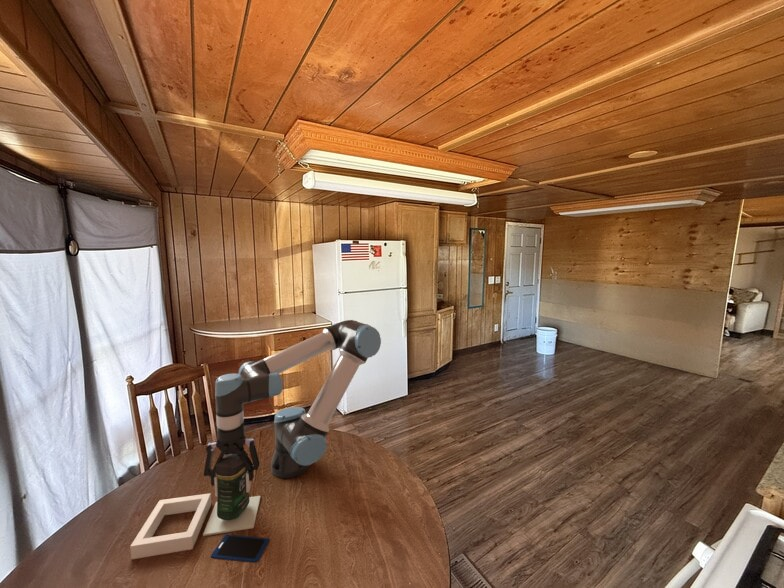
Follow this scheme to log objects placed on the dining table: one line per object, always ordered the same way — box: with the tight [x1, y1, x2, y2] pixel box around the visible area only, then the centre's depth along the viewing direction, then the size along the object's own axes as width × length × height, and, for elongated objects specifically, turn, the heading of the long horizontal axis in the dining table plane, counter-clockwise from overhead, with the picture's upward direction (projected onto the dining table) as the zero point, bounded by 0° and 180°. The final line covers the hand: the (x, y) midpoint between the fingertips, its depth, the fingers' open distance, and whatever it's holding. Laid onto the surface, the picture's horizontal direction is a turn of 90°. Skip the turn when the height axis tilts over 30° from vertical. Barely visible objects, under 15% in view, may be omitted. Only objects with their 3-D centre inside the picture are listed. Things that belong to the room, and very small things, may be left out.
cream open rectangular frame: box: [129, 492, 212, 560], centre depth 98 cm, size 15×17×4 cm
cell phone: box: [210, 534, 270, 564], centre depth 92 cm, size 7×14×1 cm, turn 85°
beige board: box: [202, 495, 262, 537], centre depth 103 cm, size 14×13×1 cm
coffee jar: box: [215, 450, 250, 520], centre depth 102 cm, size 10×8×19 cm
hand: (233, 491), depth 102 cm, fingers closed on coffee jar, 8 cm apart
